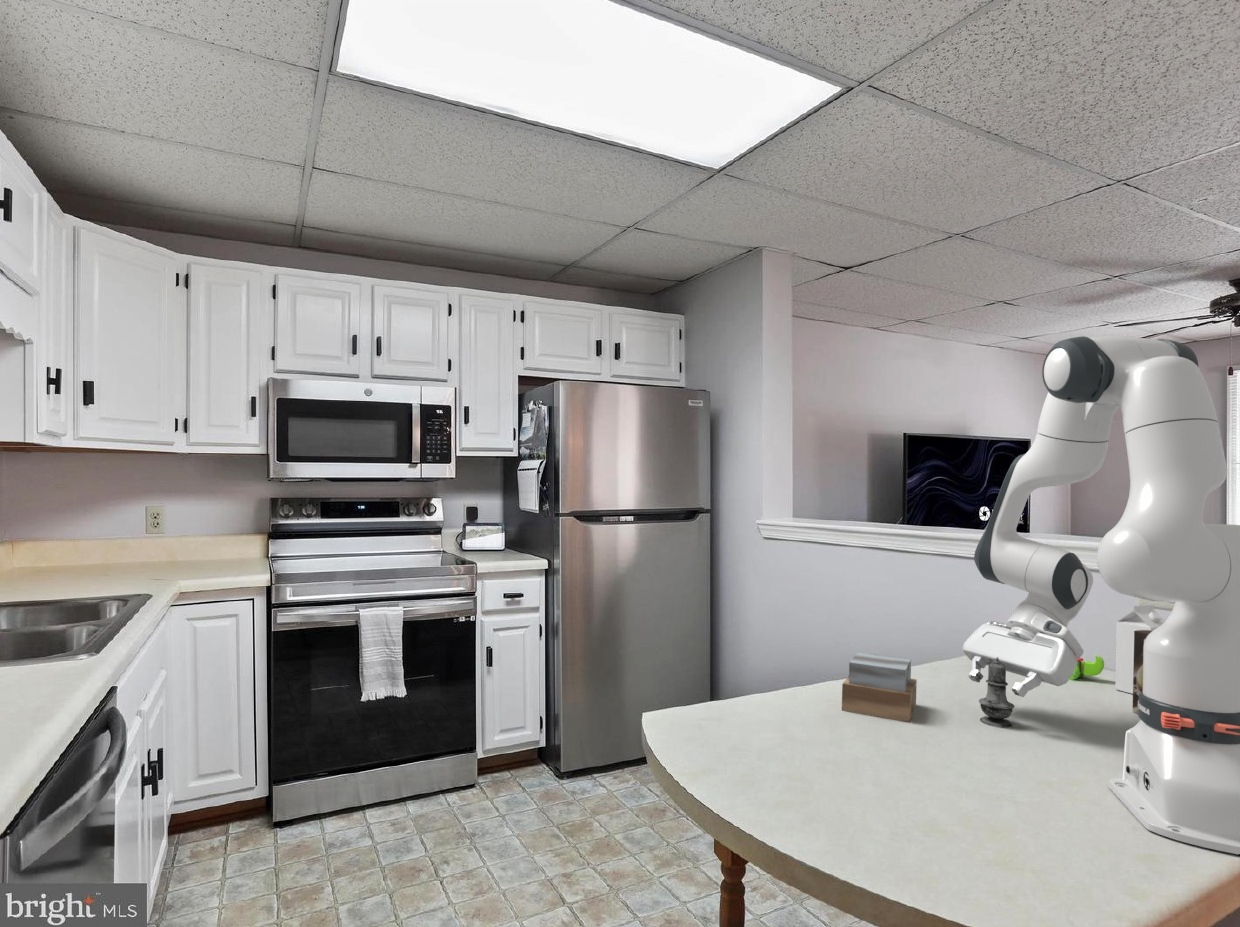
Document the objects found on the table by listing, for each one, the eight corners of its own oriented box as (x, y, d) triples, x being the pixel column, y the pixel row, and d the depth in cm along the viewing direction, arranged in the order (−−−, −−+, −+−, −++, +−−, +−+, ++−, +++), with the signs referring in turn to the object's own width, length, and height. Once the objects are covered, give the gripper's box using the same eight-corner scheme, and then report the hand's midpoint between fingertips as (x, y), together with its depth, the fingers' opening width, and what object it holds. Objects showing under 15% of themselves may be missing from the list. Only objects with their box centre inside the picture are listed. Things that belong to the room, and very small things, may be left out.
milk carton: (1114, 690, 157) (1116, 603, 158) (1134, 687, 160) (1136, 601, 161) (1150, 699, 151) (1151, 609, 151) (1170, 696, 154) (1171, 607, 154)
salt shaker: (1011, 730, 128) (1012, 663, 129) (975, 722, 132) (976, 657, 132) (1016, 722, 133) (1017, 657, 133) (981, 715, 137) (983, 651, 137)
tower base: (909, 722, 131) (910, 672, 131) (841, 710, 137) (842, 662, 137) (915, 704, 142) (917, 658, 142) (853, 694, 147) (854, 650, 147)
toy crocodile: (1006, 666, 176) (1006, 641, 176) (1018, 662, 180) (1019, 638, 180) (1096, 686, 161) (1097, 659, 161) (1108, 682, 165) (1108, 655, 165)
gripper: (978, 609, 145) (940, 661, 141) (1076, 630, 126) (1035, 690, 122) (994, 630, 147) (957, 682, 143) (1093, 654, 128) (1053, 714, 124)
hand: (994, 686), depth 132 cm, fingers open, 8 cm apart
